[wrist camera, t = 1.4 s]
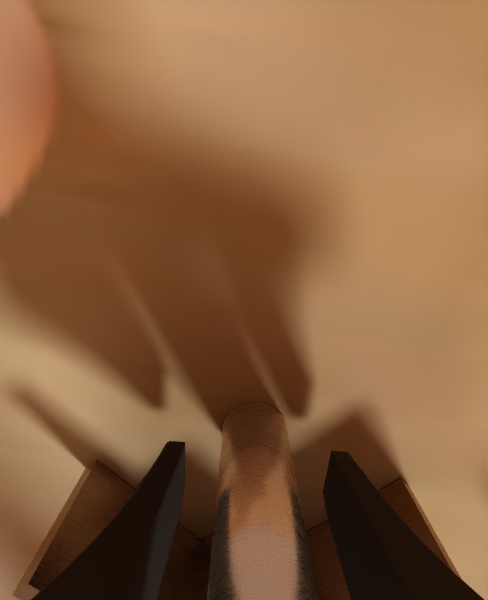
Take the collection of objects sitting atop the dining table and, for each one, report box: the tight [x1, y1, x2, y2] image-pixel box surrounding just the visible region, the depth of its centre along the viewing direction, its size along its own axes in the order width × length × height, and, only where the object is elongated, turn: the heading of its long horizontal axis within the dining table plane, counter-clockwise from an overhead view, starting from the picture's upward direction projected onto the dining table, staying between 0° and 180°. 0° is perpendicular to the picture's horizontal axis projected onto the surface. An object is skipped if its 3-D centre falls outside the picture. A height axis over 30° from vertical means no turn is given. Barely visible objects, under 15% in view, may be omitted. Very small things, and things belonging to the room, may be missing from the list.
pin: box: [207, 402, 318, 600], centre depth 10 cm, size 3×3×8 cm
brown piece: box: [13, 460, 461, 600], centre depth 13 cm, size 14×14×5 cm
